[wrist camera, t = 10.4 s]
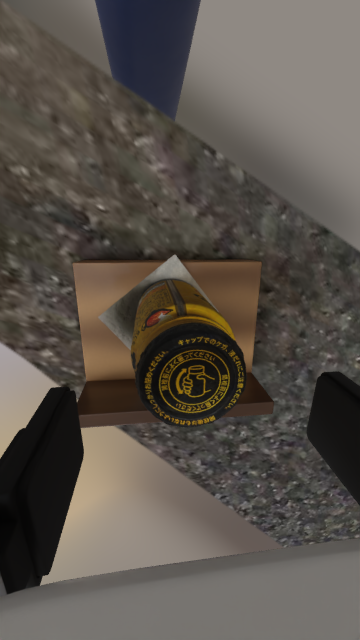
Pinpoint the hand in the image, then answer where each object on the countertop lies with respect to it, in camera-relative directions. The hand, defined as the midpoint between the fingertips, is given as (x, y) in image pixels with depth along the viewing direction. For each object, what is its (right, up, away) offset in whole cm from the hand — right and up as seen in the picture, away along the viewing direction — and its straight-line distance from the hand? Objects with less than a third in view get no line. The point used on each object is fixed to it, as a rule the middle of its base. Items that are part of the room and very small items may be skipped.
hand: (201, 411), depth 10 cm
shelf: (-2, +4, +17) cm, 17 cm away
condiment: (-2, +4, +13) cm, 14 cm away
